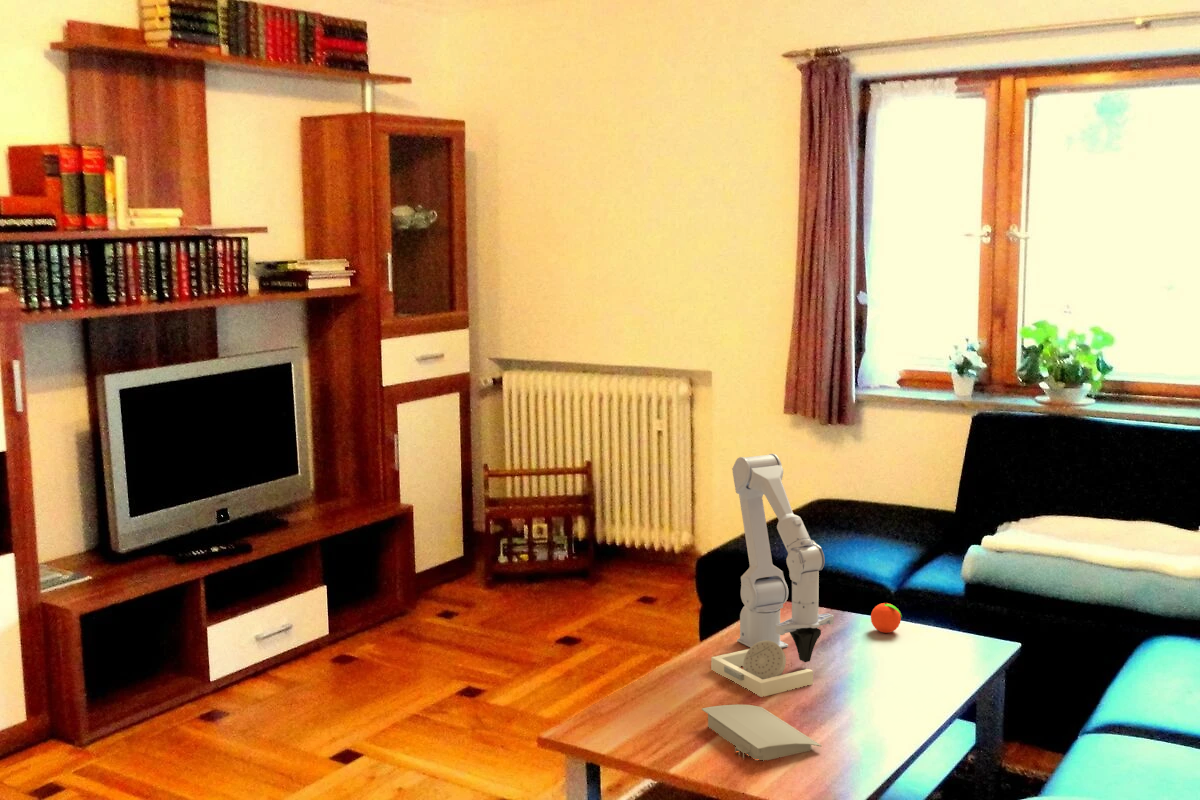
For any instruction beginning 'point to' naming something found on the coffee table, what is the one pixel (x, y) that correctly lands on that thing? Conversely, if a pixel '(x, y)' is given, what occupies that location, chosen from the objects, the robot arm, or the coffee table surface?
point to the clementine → (885, 617)
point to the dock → (730, 669)
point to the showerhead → (765, 660)
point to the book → (757, 731)
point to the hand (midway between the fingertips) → (804, 660)
